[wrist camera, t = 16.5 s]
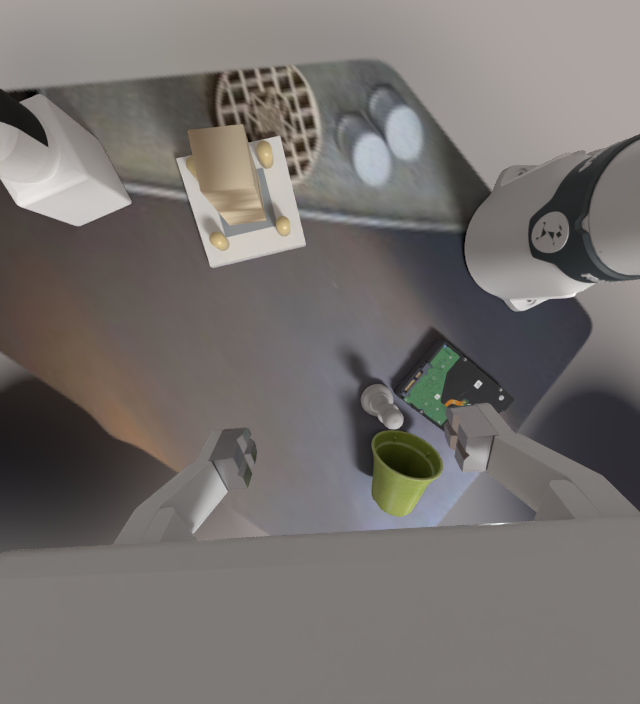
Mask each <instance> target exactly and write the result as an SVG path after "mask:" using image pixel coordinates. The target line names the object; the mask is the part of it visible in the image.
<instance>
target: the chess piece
mask: <svg viewBox="0 0 640 704" xmlns="http://www.w3.org/2000/svg"><path fill="white" fill-rule="evenodd" d="M361 405H362V407H363V409H364V410H365V411H366V412H368V413H369V414H370V415H373V416H378V418H379V420H380V421H381V422H382V423H384V425H385V426H386V427H387V428H389V429H398V428H400V427H401V426H402V424H403V420H404V419H403V415H402V413H401V412H400V411H399V409H398V407H397V406H396V405H394V404H393V396H392V394H391V392H390V390H389V389H388V388H387V387H386V386H384V385H381V384H374V385H371V386H369V387H367V388H366V389H365V390H364V392H363V393H362V396H361Z"/></svg>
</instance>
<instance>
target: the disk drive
mask: <svg viewBox="0 0 640 704" xmlns="http://www.w3.org/2000/svg"><path fill="white" fill-rule="evenodd" d="M394 393H395V394H396V395H397V396H398V397H399V398H401V399H402V400H403V401H405V402H406V403H407V404H408V405H409V406H410V407H412V408H413V409H415V410H416V411H418V412H419V413H420V414H422V415H423V416H424V417H426V418H427V419H428V420H430V421H431V422H432V423H433V424H435V425H436V426H437V427H439V428H440V429H441V430H443V431H444V424H445V422H446V421H447V420H448V419H447V417H446V415H445V413H446V409H447V407H454V406H464V405H474V404H481V403H489V404H491V405H492V407H493V408H494V409H495V410H496V411H497V413H500V412H502V411H505V410H506V409H507V408H508V407H509V406H510V404H511V403H512V402H513V401H514V398H512V397H511V396H510V395H509V393H507V392H506V391H505V390H504V389H502V388H501V387H500V386H499V385H498V384H496V383H495V382H494V381H493V380H491V379H490V378H489V377H488V376H487V375H486V374H485V373H483V372H482V371H481V370H480V369H478V368H477V367H476V366H475V365H474V364H473V363H472V362H470V361H469V360H468V359H467V358H466V357H464V356H463V355H462V354H461V353H460V352H459V351H458V350H457V349H455V348H454V347H453V346H452V345H450V344H449V343H448V342H447V341H444V340H439V339H437V340H436V341H435V342H434V344H433V345H432V346H431V348H430V349H429V350H428V351H427V352H426V353H425V355H424V356H423V357H422V358H421V359H420V361H419V362H418V363H417V365H416V366H415V367H414V368H413V369H412V370H411V372H410V373H409V374H408V375H407V377H406V378H405V379H404V380H403V381H402V383H401V384H400V385H399V386H398V387H397V389H396V390H395V391H394ZM444 432H445V431H444Z"/></svg>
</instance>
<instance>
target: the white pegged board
mask: <svg viewBox="0 0 640 704" xmlns="http://www.w3.org/2000/svg"><path fill="white" fill-rule="evenodd" d="M249 147H250V150H251V154H252V157H253V160H254V164H255V167H256V171H257V174H258V178H259V182H260V187H261V193H262V198H263V204H264V210H265V215H266V221H260V222H252V223H245V224H237V225H229V224H228V223H227V222H226V221H225V219H224V218H223V217H222V216H221V215H220V214H219V212H218V211H217V210H216V209H215V208H214V207H213V205H212V204H211V203H210V202H209V201H208V200H207V198H206V197H205V196H204V195H203V194H202V192H201V191H200V187H199V183H198V178H197V173H196V169H195V164H194V160H193V155H190V156H185V157H180V158H176V160H177V163H178V166H179V169H180V172H181V175H182V179H183V182H184V185H185V188H186V191H187V194H188V197H189V201H190V204H191V207H192V210H193V213H194V216H195V220H196V223H197V226H198V229H199V232H200V235H201V238H202V242H203V245H204V248H205V251H206V254H207V257H208V261H209V264H210V267H212V268H215V267H220V266H224V265H228V264H232V263H236V262H241V261H245V260H249V259H253V258H257V257H261V256H266V255H270V254H274V253H278V252H282V251H287V250H291V249H295V248H299V247H303V246H305V245H306V243H305V239H304V235H303V230H302V226H301V222H300V218H299V214H298V209H297V205H296V201H295V197H294V193H293V189H292V184H291V180H290V176H289V172H288V168H287V163H286V159H285V155H284V151H283V147H282V142H281V138H280V136H277V137H272V138H268V139H263V140H258V141H254V142H249Z"/></svg>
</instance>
